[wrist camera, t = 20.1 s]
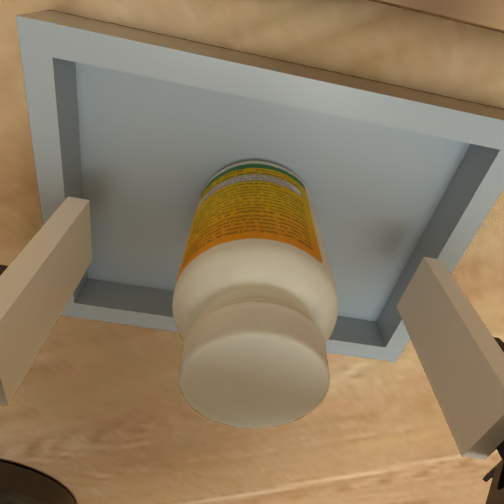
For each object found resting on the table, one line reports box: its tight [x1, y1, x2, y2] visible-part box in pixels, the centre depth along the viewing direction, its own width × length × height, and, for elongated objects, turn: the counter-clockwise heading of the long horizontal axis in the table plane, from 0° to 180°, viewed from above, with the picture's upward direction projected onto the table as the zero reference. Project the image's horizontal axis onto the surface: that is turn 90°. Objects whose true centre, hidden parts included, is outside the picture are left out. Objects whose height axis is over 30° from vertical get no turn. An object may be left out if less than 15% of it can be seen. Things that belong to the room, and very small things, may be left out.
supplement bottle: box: [172, 161, 338, 428], centre depth 14 cm, size 5×5×10 cm
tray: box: [16, 10, 504, 362], centre depth 18 cm, size 18×13×2 cm
